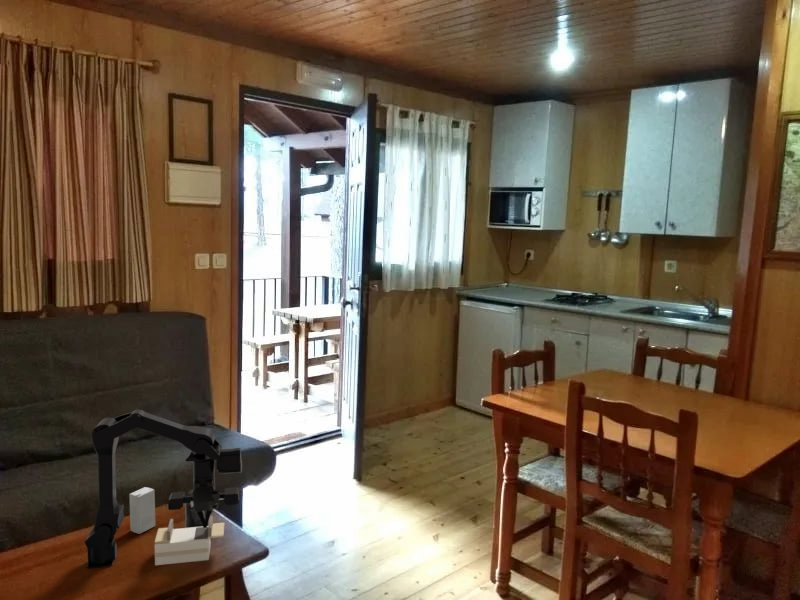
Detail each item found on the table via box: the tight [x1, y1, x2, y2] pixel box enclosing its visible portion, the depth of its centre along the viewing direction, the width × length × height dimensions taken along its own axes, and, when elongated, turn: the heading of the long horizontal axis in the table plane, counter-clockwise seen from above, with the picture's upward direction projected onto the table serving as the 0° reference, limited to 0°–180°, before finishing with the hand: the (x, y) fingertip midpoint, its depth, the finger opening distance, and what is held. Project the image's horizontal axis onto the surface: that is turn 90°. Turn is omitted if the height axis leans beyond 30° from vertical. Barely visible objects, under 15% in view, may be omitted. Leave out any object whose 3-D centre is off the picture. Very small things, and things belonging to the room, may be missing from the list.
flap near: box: [154, 518, 175, 544], centre depth 171 cm, size 4×8×3 cm, turn 14°
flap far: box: [208, 515, 225, 539], centre depth 175 cm, size 4×8×3 cm, turn 14°
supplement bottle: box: [184, 488, 209, 528], centre depth 188 cm, size 7×7×12 cm
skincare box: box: [128, 486, 156, 535], centre depth 187 cm, size 6×4×12 cm
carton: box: [154, 526, 211, 566], centre depth 173 cm, size 14×8×6 cm, turn 104°
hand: (205, 527), depth 174 cm, fingers closed
